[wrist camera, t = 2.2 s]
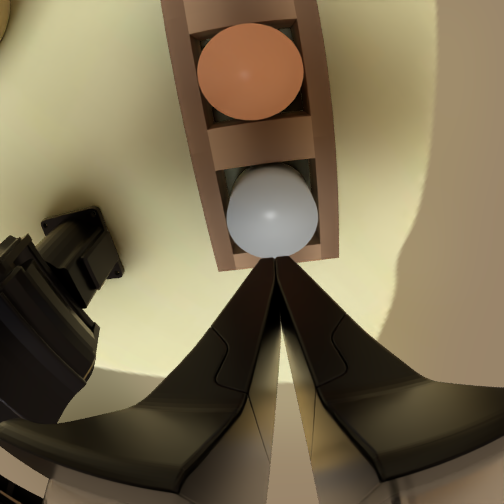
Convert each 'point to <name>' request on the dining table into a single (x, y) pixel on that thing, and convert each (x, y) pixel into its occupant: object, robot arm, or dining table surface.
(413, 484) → the robot arm
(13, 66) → the dining table surface
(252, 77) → the terracotta button
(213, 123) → the brown wooden flat tray
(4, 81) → the dining table surface
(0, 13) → the plant pot
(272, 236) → the slate button
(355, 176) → the dining table surface
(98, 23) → the dining table surface
